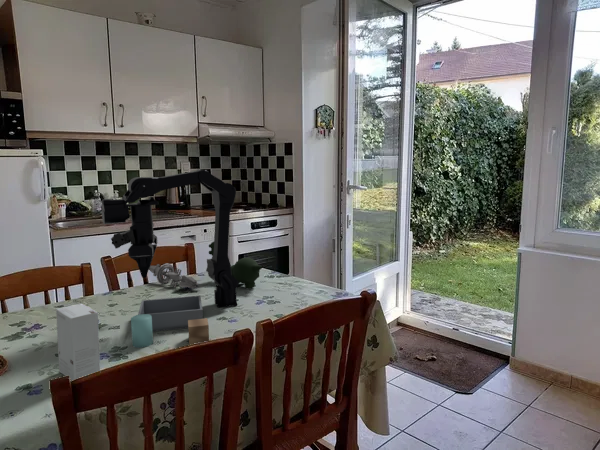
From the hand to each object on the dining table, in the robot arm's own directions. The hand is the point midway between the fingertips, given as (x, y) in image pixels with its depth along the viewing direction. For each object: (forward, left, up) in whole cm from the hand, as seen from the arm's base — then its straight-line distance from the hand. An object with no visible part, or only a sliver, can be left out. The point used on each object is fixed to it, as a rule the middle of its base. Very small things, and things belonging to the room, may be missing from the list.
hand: (145, 273), depth 127 cm
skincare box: (+12, +32, -14) cm, 37 cm away
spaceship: (-4, -36, -14) cm, 39 cm away
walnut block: (-14, +21, -14) cm, 28 cm away
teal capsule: (0, +19, -14) cm, 23 cm away
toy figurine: (-30, -26, -14) cm, 42 cm away
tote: (-7, +5, -14) cm, 16 cm away
